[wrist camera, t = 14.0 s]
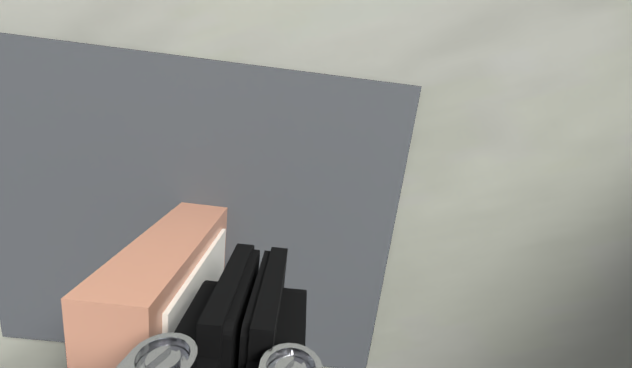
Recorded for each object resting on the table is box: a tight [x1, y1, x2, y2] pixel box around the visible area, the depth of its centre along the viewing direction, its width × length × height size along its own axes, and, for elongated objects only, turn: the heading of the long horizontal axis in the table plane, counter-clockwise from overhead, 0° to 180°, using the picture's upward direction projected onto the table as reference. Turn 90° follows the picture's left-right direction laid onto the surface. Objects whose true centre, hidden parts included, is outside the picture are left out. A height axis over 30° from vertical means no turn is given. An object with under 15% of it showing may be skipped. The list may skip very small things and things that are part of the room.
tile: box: [61, 202, 228, 368], centre depth 12 cm, size 2×9×7 cm, turn 173°
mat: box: [0, 33, 422, 368], centre depth 15 cm, size 18×14×1 cm
